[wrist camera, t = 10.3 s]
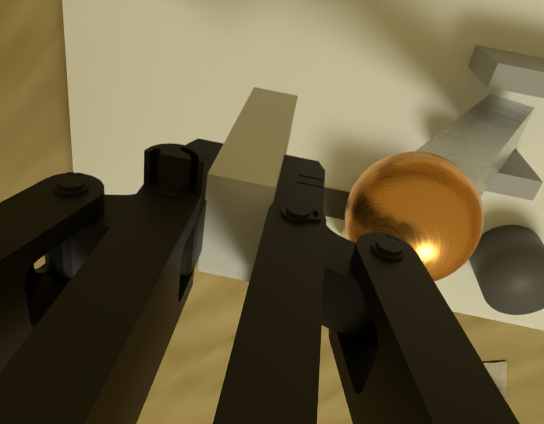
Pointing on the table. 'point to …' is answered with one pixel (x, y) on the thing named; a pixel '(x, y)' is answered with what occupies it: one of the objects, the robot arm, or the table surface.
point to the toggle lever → (439, 186)
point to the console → (324, 102)
